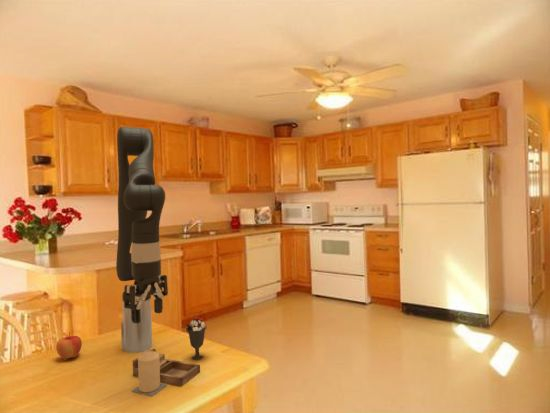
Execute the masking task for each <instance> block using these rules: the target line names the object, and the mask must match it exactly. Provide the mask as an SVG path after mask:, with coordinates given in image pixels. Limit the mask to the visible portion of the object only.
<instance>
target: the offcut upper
mask: <svg viewBox="0 0 550 413" xmlns="http://www.w3.org/2000/svg"><path fill="white" fill-rule="evenodd" d="M158 354H159V359H160V363H162V362H163V361H164V360H165V359H166V354H164V353H158Z"/></svg>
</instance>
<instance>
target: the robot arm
mask: <svg viewBox="0 0 550 413" xmlns="http://www.w3.org/2000/svg"><path fill="white" fill-rule="evenodd" d="M154 142H155V141H154V135H153V132H152V131H151V130H150V129H149V128H144V127H134V126H133V127H132V126H120V127H119V128H118V130H117V134H116V146H117V147H116V148H117V149H116V150H117V168H118V185H117V186H118V188H117V189H118V192H117V222H118V230H117V231H118V232H117V233H118V235H117V237H118V238H117V249H116V251H117V252H116V260H115V261H116V266H115V269H116V270H115V271H116V276H117V278H118V280H120V281H121V282H130V281H134V282H133V284H125V285H124V290H123V292H122V293H121V294H122V297H121V298H122V320H123V321H121V323H120V332H121V334H120V335H121V350H123V351H124V352H126V353H128V354H129V353H130V354H137V353H142V352H143V351H145V350H151V348H153V322H152V321H153V320H152V318H153V317H152V316H153V315H152V297H153V298H154V300H153V304H154V305H153V307H154V308H153V310H154V313H156V314H161V313H163V308H164V307H163V303H164V302H163V300H164V299H165V296H168V294H169V290H168V289H169V288H168V276H167V275H166V274H162V256H161V254H162V251H161V244H160V222H161V216H162V212H163V209H164V204H165V201H166V192H165V190H164V188H163V187H162V186H161V185H159V184H156V177H155V176H156V175H155V171H154V159H155V158H154V155H155V153H154V152H155V151H154V149H155V146H154V144H155V143H154ZM129 156H130V157H135V158H133V160H132V161H131V162H130V161H129ZM150 211H151V214H149V216H147V215H148V212H150Z"/></svg>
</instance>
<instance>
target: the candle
mask: <svg viewBox="0 0 550 413" xmlns="http://www.w3.org/2000/svg"><path fill="white" fill-rule="evenodd" d="M151 350H152V349H149V350H145V351H143V352H141V354H140V355H139V356H138V357H137V358H138V375H139V377H138V386H139V390H140V391H141V392H145V393H147V392H153V391H155V390H157V389H158V388H159V387H160V383H161V382H160V359H159V354H160V353H158V352H157V351H156V352H155V351H151Z"/></svg>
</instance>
